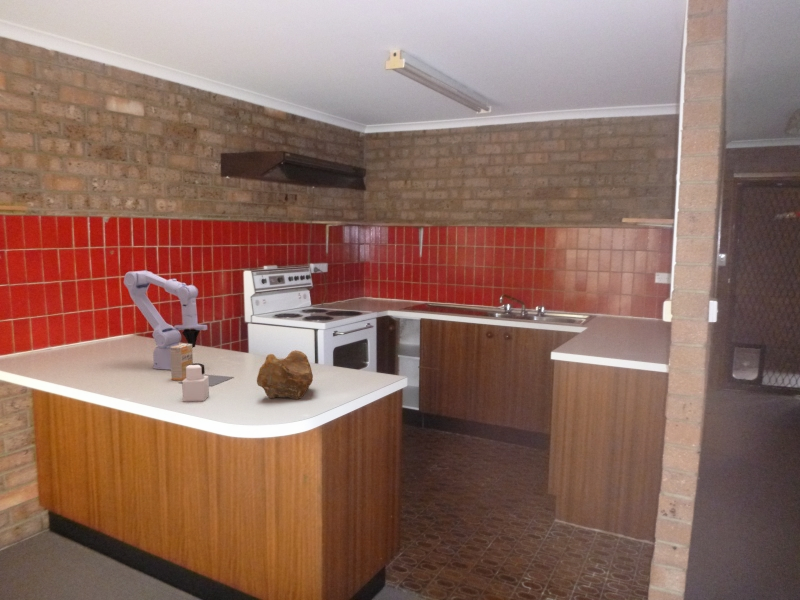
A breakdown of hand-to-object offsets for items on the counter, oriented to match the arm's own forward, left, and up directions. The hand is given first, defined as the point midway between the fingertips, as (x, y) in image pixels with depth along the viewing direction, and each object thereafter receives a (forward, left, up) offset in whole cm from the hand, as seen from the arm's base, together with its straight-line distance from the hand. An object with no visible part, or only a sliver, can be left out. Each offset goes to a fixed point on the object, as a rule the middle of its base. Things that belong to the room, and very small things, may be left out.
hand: (192, 347), depth 242 cm
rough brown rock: (+57, -21, -10) cm, 62 cm away
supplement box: (+5, -13, -10) cm, 17 cm away
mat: (+16, -13, -9) cm, 23 cm away
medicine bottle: (+28, -35, -10) cm, 46 cm away
